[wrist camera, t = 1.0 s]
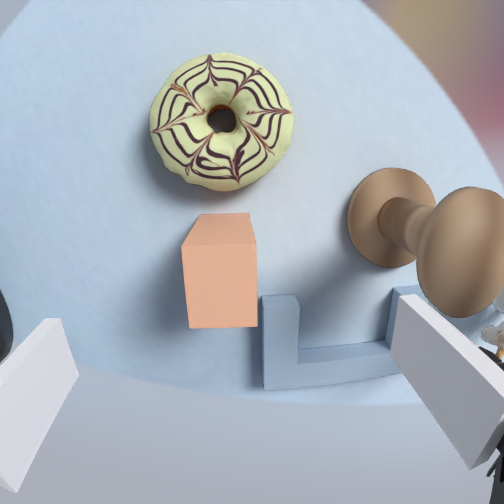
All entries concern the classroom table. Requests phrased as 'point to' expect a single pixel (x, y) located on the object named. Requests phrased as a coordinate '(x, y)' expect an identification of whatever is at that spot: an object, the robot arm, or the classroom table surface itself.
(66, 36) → the classroom table surface
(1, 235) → the classroom table surface
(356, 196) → the bobbin
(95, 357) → the classroom table surface
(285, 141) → the decorated donut
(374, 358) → the u-shaped block
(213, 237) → the tab
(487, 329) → the unicorn figurine
